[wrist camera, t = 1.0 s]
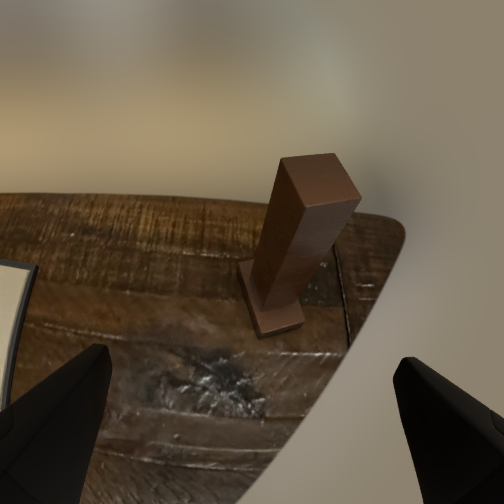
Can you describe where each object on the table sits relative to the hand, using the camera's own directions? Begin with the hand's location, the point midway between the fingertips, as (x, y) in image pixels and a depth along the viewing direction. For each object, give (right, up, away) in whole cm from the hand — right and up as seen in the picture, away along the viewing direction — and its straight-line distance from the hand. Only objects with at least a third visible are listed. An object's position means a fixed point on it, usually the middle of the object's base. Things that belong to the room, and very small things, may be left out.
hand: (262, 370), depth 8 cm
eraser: (+1, -1, +17) cm, 17 cm away
